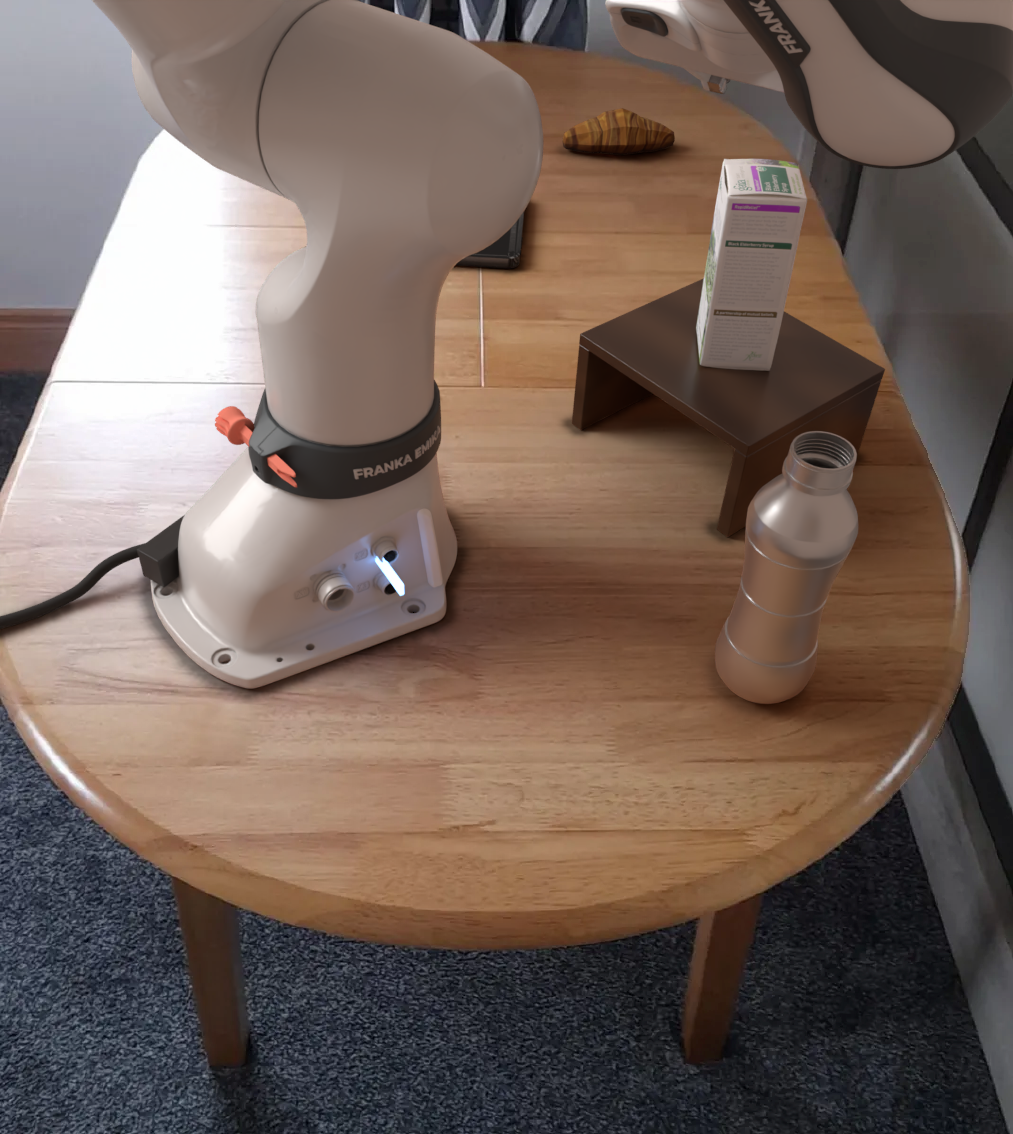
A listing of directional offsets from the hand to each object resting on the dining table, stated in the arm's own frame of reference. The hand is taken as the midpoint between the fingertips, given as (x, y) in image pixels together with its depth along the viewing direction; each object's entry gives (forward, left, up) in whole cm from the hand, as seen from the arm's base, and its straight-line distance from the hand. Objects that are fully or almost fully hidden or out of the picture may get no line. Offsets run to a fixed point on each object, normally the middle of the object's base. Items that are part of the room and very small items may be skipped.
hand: (783, 98), depth 79 cm
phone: (+6, +39, -29) cm, 49 cm away
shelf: (-1, 0, -29) cm, 29 cm away
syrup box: (0, 0, -20) cm, 20 cm away
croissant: (+31, +45, -29) cm, 62 cm away
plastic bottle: (-18, -20, -29) cm, 40 cm away
